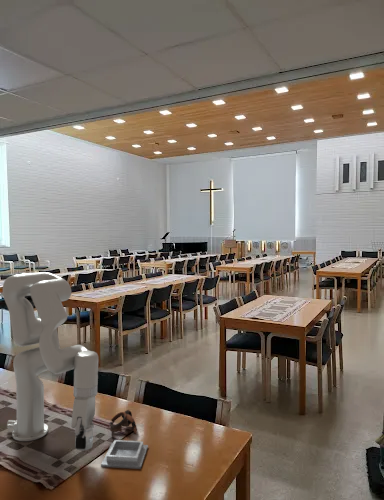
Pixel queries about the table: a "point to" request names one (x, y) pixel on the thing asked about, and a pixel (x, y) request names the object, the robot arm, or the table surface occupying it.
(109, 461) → the duct collar
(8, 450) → the table surface
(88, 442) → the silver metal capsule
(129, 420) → the pottery mug
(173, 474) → the table surface
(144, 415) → the table surface
